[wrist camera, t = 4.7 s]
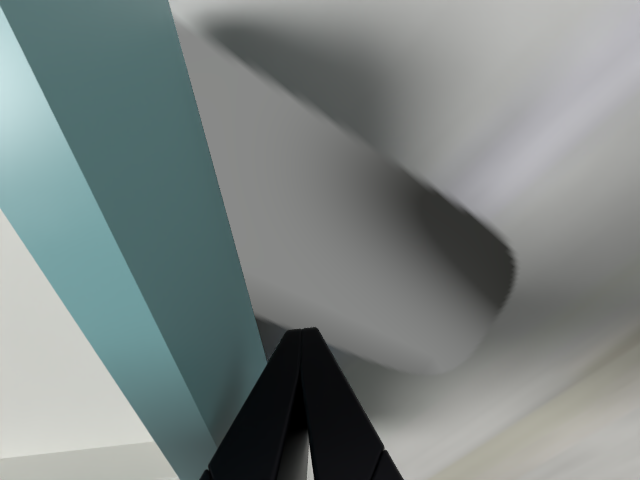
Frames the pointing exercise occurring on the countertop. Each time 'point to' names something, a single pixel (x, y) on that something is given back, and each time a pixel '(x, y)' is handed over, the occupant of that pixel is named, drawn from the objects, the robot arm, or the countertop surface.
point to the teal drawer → (112, 252)
